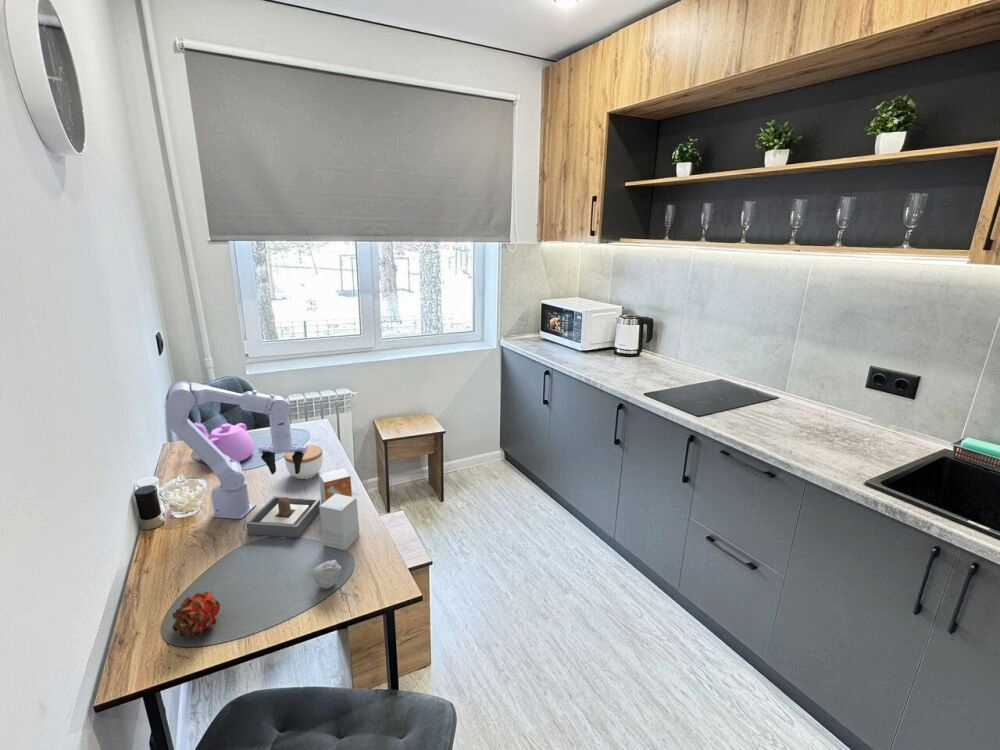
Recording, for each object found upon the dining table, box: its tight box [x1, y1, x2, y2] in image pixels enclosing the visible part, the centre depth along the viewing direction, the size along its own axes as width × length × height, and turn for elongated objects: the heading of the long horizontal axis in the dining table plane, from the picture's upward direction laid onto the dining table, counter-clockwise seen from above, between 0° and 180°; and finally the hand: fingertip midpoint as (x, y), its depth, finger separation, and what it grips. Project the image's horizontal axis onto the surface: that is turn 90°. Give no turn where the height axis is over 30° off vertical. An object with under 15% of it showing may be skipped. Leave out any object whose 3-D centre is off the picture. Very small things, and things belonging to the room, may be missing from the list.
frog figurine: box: [312, 559, 342, 589], centre depth 117 cm, size 6×7×7 cm
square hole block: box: [245, 495, 321, 540], centre depth 143 cm, size 15×15×4 cm
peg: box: [278, 496, 291, 518], centre depth 143 cm, size 3×3×7 cm
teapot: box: [193, 422, 255, 463], centre depth 183 cm, size 22×22×14 cm
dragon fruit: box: [171, 590, 221, 639], centre depth 105 cm, size 8×8×12 cm
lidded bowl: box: [283, 444, 323, 480], centre depth 171 cm, size 13×13×11 cm
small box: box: [318, 467, 353, 504], centre depth 148 cm, size 8×6×13 cm
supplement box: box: [319, 494, 360, 551], centre depth 134 cm, size 7×7×13 cm
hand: (285, 472), depth 154 cm, fingers open, 7 cm apart
